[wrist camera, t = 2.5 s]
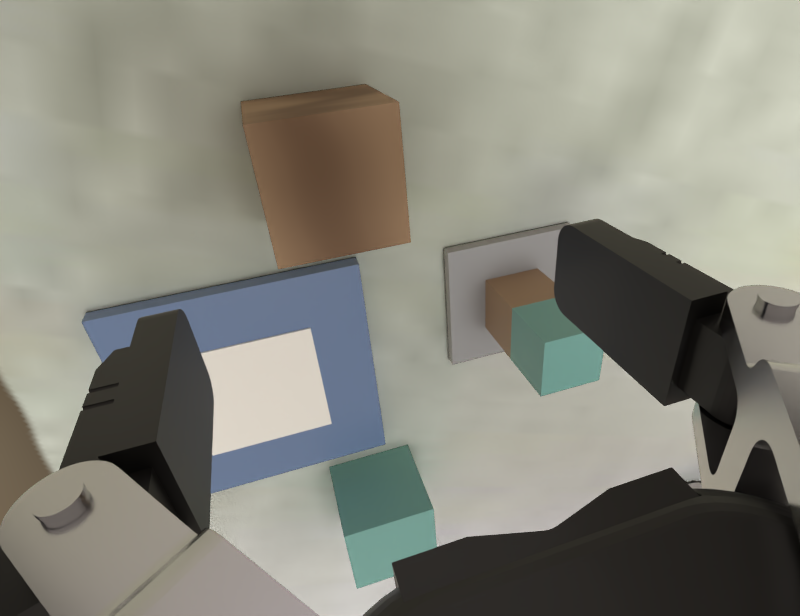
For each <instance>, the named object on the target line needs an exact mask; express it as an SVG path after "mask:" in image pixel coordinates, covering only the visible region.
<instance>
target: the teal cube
mask: <svg viewBox="0 0 800 616" xmlns="http://www.w3.org/2000/svg"><path fill="white" fill-rule="evenodd" d="M329 468H330V472H331V477H332V482H333V486H334V491H335V496H336V501H337V505H338V510H339V515H340V519H341V524H342V529H343V533H344V538H345V542H346V546H347V550H348V554H349V558H350V562H351V566H352V570H353V575H354V579H355V583H356V587H357V589H358V588H361V587H364V586H367V585H370V584H373V583H376V582H378V581H381V580H384V579H387V578H390V577H393V576H394V573H393V568H392V562H395V561H398V560H401V559H404V558H407V557H410V556H413V555H416V554H418V553H421V552H424V551H427V550H430V549H433V548H436V547H437V544H436V533H435V521H434V509H433V507H432V504H431V502H430V499H429V497H428V494H427V492H426V489H425V487H424V484H423V482H422V479H421V477H420V474H419V472H418V469H417V467H416V465H415V462H414V460H413V457H412V455H411V452H410V450H409V447H408V445H405V446H401V447H398V448H394V449H391V450H387V451H384V452H380V453H377V454H373V455H370V456H366V457H363V458H359V459H356V460H352V461H349V462H345V463H342V464H338V465H335V466H331V467H329Z"/></svg>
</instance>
